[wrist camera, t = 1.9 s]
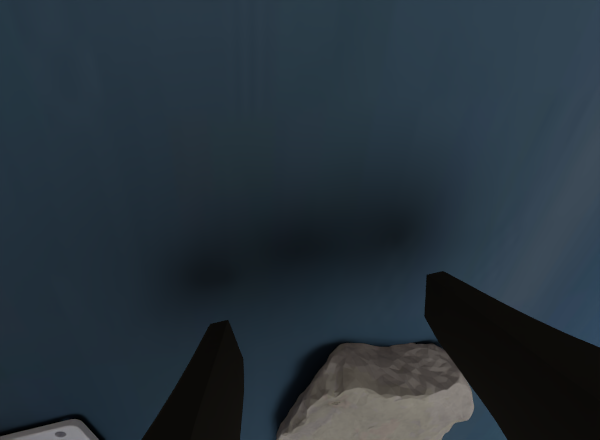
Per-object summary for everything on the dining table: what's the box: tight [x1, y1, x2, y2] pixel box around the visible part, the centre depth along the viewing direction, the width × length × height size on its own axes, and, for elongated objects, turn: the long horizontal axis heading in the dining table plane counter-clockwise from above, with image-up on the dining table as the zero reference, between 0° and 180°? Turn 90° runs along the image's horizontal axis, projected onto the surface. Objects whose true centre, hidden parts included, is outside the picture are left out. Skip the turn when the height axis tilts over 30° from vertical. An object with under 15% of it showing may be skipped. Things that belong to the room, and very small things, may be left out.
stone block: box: [276, 343, 474, 440], centre depth 17 cm, size 12×5×10 cm
